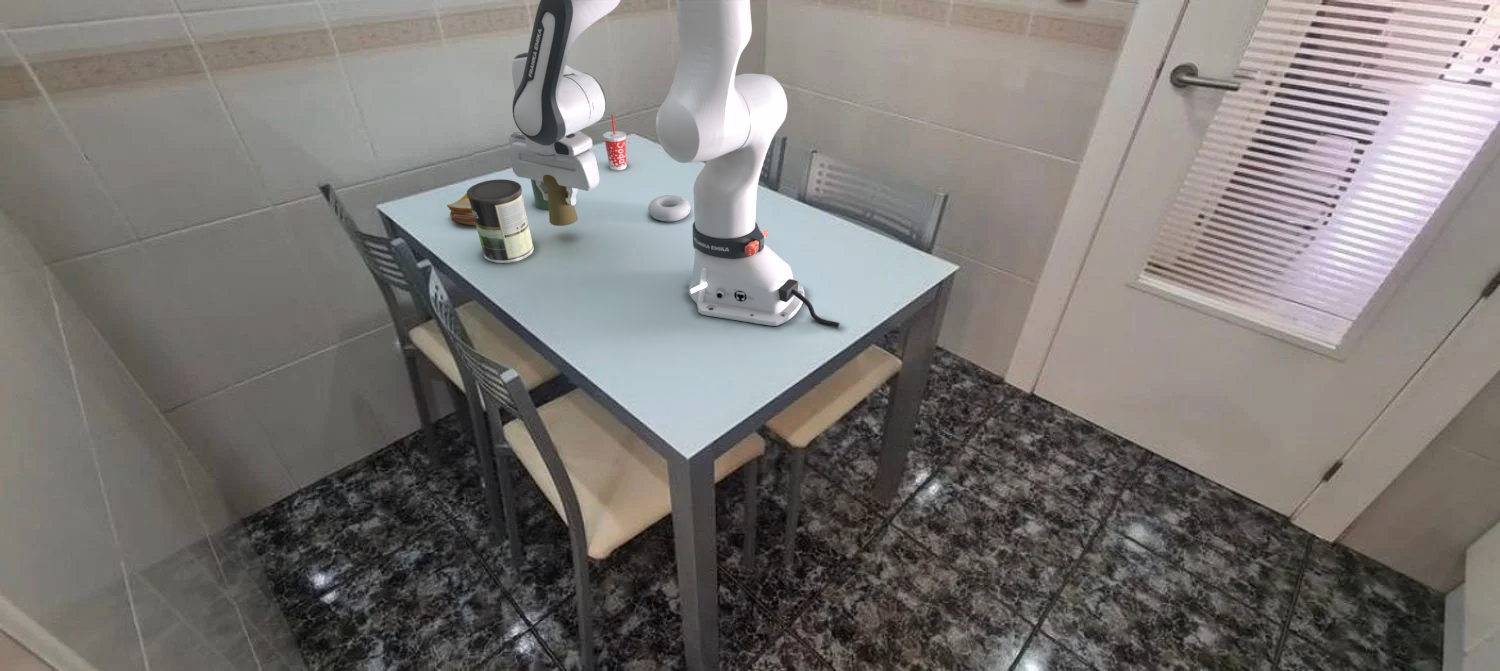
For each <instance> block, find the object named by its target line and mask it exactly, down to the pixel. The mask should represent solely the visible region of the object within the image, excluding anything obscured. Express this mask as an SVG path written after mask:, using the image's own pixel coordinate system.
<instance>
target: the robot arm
mask: <svg viewBox="0 0 1500 671" xmlns="http://www.w3.org/2000/svg"><path fill="white" fill-rule="evenodd" d="M674 1H675V2H674V3H675V11H676V18H677V19H676V20H677V31H678V32H677V33H678V52H677V60H676V65H675V66H676V67H675V72H674V76H673V79H672V84H671V86H670V89H669V91H668V94H667V96H666V97H665V99H664V101H663V102H662V103H661V105H660V106H659V108H658V110H657V113H656V117H655V131H656V132H655V133H656V137H657V139H658V141H659V144H660V146H661V148H662V149H663V151H664V152H665V153H666V154H667V155H668V156H669V158H671V159H673V161H676V162H678V163H681V164H692V163H693V164H694V163H701V162H705V164H704V166H703V168H702V169H701V171H700V172H699V173H698V175H697V176H696V178H695V181H694V183H693V190H692V191H693V214H694V215H693V216H694V221H693V223H692V246H693V249H694V260H693V269H692V274H691V275H692V276H691V279H690V284H689V286H688V295H689V297H690V299H691V300H693V302H694V303H695V304H696V306H697V312H698V313H699V314H700V315H703V316H708V317H714V318H721V319H726V320H732V321H738V322H746V323H751V324H758V325H764V326H770V327H771V326H772V327H777V326H779V325H780V326H781V325H783V324H785V323H787V322H788V321H789V320H791V319H792V318H794V316H796V314H797V313H798V312H799V311H800V309H801V308H802V306H803V305H805V306H806V307H807V309H808V311H809V315H810V316H811V318H812V319H813V320H814V321H816V322H817V323H818V324H821V325H824V326H829V327H835V328H839V327H840V324H841V323H840V322H837V321H832V320H828V319H824V318H822V317H820V316H818V315H817V314H816V312H815V309H814V306H813V305H812V303H811V301H809V299H808V298H806V297H805V289H804V287H803V286H802V285H799V281H798V280H795V279H794V276H793V270H792V269H791V266H790V265H789V264H788V263H787V262H785V261H784V259H783V258H781V257H780V256H779V255H778V254H776V253H775V252H774V251H773V250H772V249H771V248H770V247H769V246H767V244H766V243H765V239H766V237H768V235H769V233H768V231H769V228H766V229H765V230H764V231H763V232H762V231H761V229H760V228H759V225H758V222H757V221H756V218H757V217H756V216H757V197H758V186H759V181H760V178H761V173H762V169H763V166H764V162H765V160H766V157H767V155H768V154H767V153H768V151H769V149H770V145H771V143H772V141H773V139H774V137H775V135H776V134H777V132H778V130H779V129H780V127H781V126H782V125H783V124H784V122H785V120H786V116H787V113H788V99H787V95H786V92H785V90H784V88H783V86H782V85H781V84H780V82H779V81H778V80H777V79H776V78H774V77H772V76H771V75H769V74H766V73H765V74H763V73H741V74H737V75H736V73H737V68H738V64H739V61H740V57H741V55H742V54H743V51H744V50H745V48H746V47H747V45H748V44H749V42H750V41H751V38H752V34H753V25H752V24H753V23H752V10H751V0H674ZM620 3H621V0H540V1H539V3H538V7H537V10H536V13H535V18H534V22H533V27H532V31H531V36H530V40H529V41H530V42H529V46H528V51H527V52H522V53H519V54H517V55H516V56H515V57H514V58H513V59H512V63H511V73H512V74H511V75H512V83H513V89H514V95H513V100H512V116H513V121H514V123H515V125H516V127H517V129H518V131H513V133H512V134H510V135H509V138H508V139H509V140H508V141H509V145H510V147H509V148H510V149H509V153H510V162H511V168H512V172H513V173H514V174H515V176H516V177H518V178H522V179H527V180H531V179H532V180H535V182H536V185H537V186H538V188H539V189H540V191H541V192H542V194H543V198H544V200H548V189H547V187H546V186H545V185H544V183H543V176H544V175H551V176H553V177H554V178H555V179H556V181H557V183H558V185H561V186H566V187H567V191H569V195H568V196H567V197H565V201H566V204H567V205H571V206H573V205H574V206H575V205H577V203H578V201H577V194H578V192H579V190H581V191H585V192H589V191H591V190H593V189H595V188H597V187H598V185H599V184H600V180H601V179H600V172H599V166H598V162H597V158H596V155H595V154H594V152H593V151H592V150H591V148H592V147H593V146H594V145H593V144H594V143H593V138H591V137H590V136H589V135H587V134H585V133H583V132H582V131H581V130H583V129H586V128H587V127H590V126H592V125H594V124H596V123H597V122H599V121H601V120H602V119H603V118H604V116H605V113H606V110H607V98H606V95H605V92H604V88H603V87H602V85H601V83H600V82H599V81H598V80H597V79H596V78H595V77H593V76H592V75H591V74H589V73H587V72H582V71H579V70H577V69H575V68H572V67H571V66H568V65H567V62H568V59H569V58H568V57H569V53H570V50H571V48H572V46H573V45H574V43H575V41H576V40H577V39H578V38H579V37H580V36H581V35H582V34H583V32H585V30H587V29H588V28H589V27H591V26H592V25H593V24H595V23H596V22H598V21H599V20H600V19H602V18H603V17H605V16H607V15H608V14H610V13H611V12H612V11H614V10H615V9H616V8H617V7H618V5H619V4H620Z"/></svg>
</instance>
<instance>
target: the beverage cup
mask: <svg viewBox="0 0 1500 671" xmlns="http://www.w3.org/2000/svg"><path fill="white" fill-rule="evenodd" d="M611 123H612V130H611V131H605V133H603V134H602V137H603V140H604V145H605V149H606V155H607V161H608V165H609V169H610V170H612V171H623V170H625V169H627V144H626V139H627V133H626V132H624V131H622V130H621V131H620V130H616V128H615V118H614V115H611Z"/></svg>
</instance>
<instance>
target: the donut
mask: <svg viewBox="0 0 1500 671" xmlns="http://www.w3.org/2000/svg"><path fill="white" fill-rule="evenodd" d="M691 210H692V209H691V204H690V202H689V201H688V200H687V198H685V197H682V196H680V195H675V194H666V195H661V196H658V197H657V196H656V197H655V198H653V199H652V200H651V201H650V202H649V204H648V214H649V215H650V216H651V217H652V218H653V219H655V220H657V221H660V222H676V221H677V222H678V221H681V220H684V219H685V218H686V217H687V216H688V215H689V214H690V212H691Z"/></svg>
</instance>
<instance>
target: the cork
mask: <svg viewBox="0 0 1500 671" xmlns="http://www.w3.org/2000/svg"><path fill="white" fill-rule="evenodd" d="M543 183H544V185H545V186H546V187H547V189H548V205H549V209H548V217H549V218H548V219H549V223H550V225H552V226H557V227H566V226H569V225H572V224H575V223H576V222H578V220H579V217H578V213H577V212H576V207H575V205H573V206H571V205H567V204H566V201H565V197H567V196H568V195H569V192H570V191H567V187H566V186H561V185H558V183H557V181H556V179H555V178H554V177H553V176H551V175H544V176H543Z"/></svg>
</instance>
